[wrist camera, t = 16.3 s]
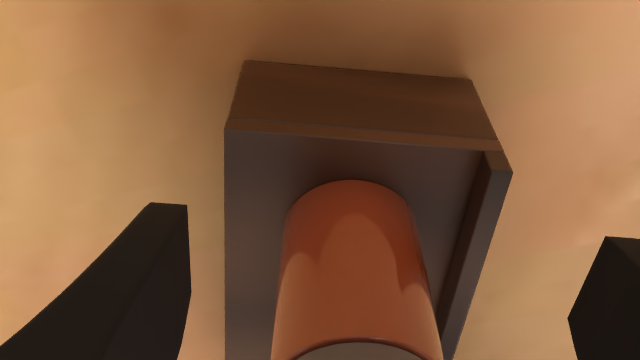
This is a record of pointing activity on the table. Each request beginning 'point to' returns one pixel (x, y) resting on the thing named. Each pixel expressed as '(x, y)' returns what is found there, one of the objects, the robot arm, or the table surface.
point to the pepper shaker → (353, 279)
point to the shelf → (356, 178)
